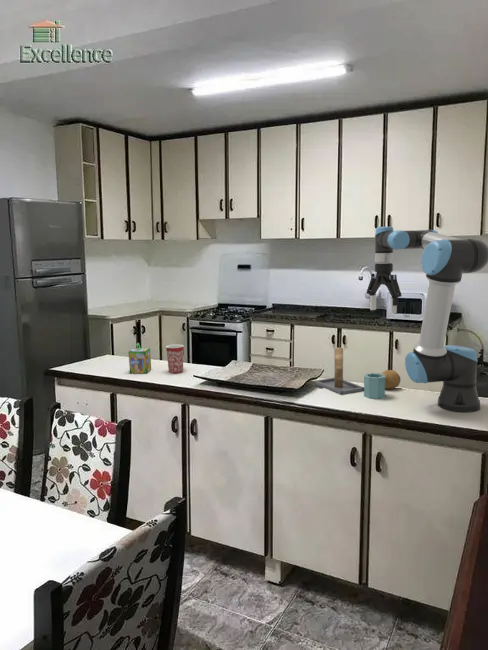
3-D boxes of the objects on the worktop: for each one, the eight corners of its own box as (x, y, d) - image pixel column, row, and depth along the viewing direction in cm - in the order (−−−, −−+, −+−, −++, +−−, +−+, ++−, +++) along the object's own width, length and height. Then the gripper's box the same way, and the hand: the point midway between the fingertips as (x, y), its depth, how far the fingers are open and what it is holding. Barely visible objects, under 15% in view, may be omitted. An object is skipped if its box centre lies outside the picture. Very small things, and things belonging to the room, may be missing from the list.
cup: (389, 399, 213) (389, 376, 211) (372, 402, 209) (373, 379, 208) (376, 394, 220) (376, 372, 218) (360, 397, 217) (360, 374, 215)
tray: (364, 393, 222) (364, 387, 222) (340, 397, 217) (340, 391, 217) (336, 382, 240) (336, 377, 240) (314, 385, 235) (314, 380, 235)
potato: (402, 385, 232) (402, 368, 231) (398, 394, 219) (398, 375, 218) (379, 383, 236) (380, 366, 235) (374, 392, 223) (374, 373, 222)
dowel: (344, 387, 228) (344, 348, 225) (337, 388, 226) (337, 349, 223) (339, 385, 231) (339, 347, 228) (332, 386, 229) (332, 348, 227)
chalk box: (146, 373, 266) (145, 345, 263) (129, 373, 267) (127, 345, 264) (152, 369, 275) (150, 341, 272) (135, 369, 276) (133, 341, 274)
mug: (179, 374, 262) (177, 348, 260) (163, 373, 266) (162, 347, 264) (191, 368, 273) (190, 343, 271) (176, 367, 277) (175, 342, 275)
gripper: (410, 263, 218) (409, 313, 221) (372, 262, 240) (371, 308, 244) (396, 263, 215) (395, 315, 218) (359, 262, 237) (358, 309, 241)
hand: (383, 311), depth 231 cm, fingers open, 13 cm apart
